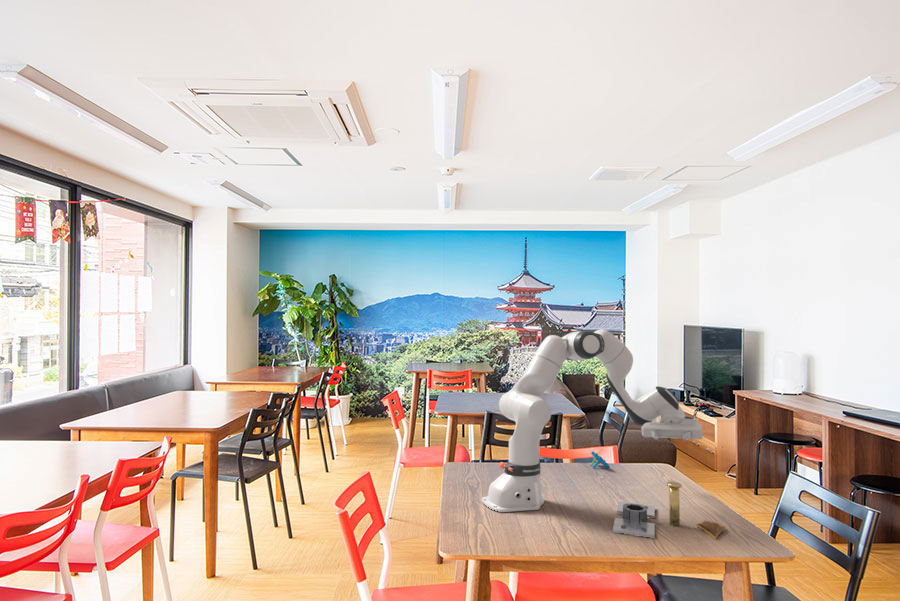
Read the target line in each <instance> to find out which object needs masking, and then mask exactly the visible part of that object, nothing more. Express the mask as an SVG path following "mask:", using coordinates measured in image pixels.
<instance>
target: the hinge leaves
mask: <svg viewBox="0 0 900 601" xmlns="http://www.w3.org/2000/svg"><path fill="white" fill-rule="evenodd" d="M655 509H656V507H655V505H648V504H642V503H633V502H626V501H618V503H617V508H616V514H617V515H622V518H620V517H619V518H618V517H615V518H614V522H613V525H612V526H613V527H612V533H615V534H620V533H624V534H623V535H626V534H631V535H630V536H633V535H639V536H645V537H644V538H646V537H650V538H649V539H652V538H655V537H656V536H655V534H656V533H655V530H656V528H655V527H656V526H655V525H656V524H655V523H653V522H648V519H651V518H656V517H655V514H656V513H655V512H656V510H655ZM647 517H649V518H647ZM639 536H638V537H639Z"/></svg>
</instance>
